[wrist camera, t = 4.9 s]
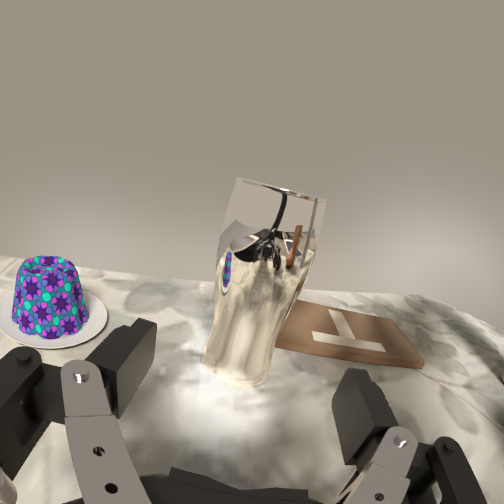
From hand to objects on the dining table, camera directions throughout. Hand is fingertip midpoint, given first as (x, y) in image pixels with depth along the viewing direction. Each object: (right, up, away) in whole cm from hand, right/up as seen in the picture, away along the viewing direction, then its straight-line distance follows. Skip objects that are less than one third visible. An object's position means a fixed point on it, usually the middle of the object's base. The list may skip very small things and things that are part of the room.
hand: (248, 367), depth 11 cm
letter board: (+11, -6, +23) cm, 26 cm away
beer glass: (-1, -5, +13) cm, 14 cm away
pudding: (-19, -2, +11) cm, 22 cm away
